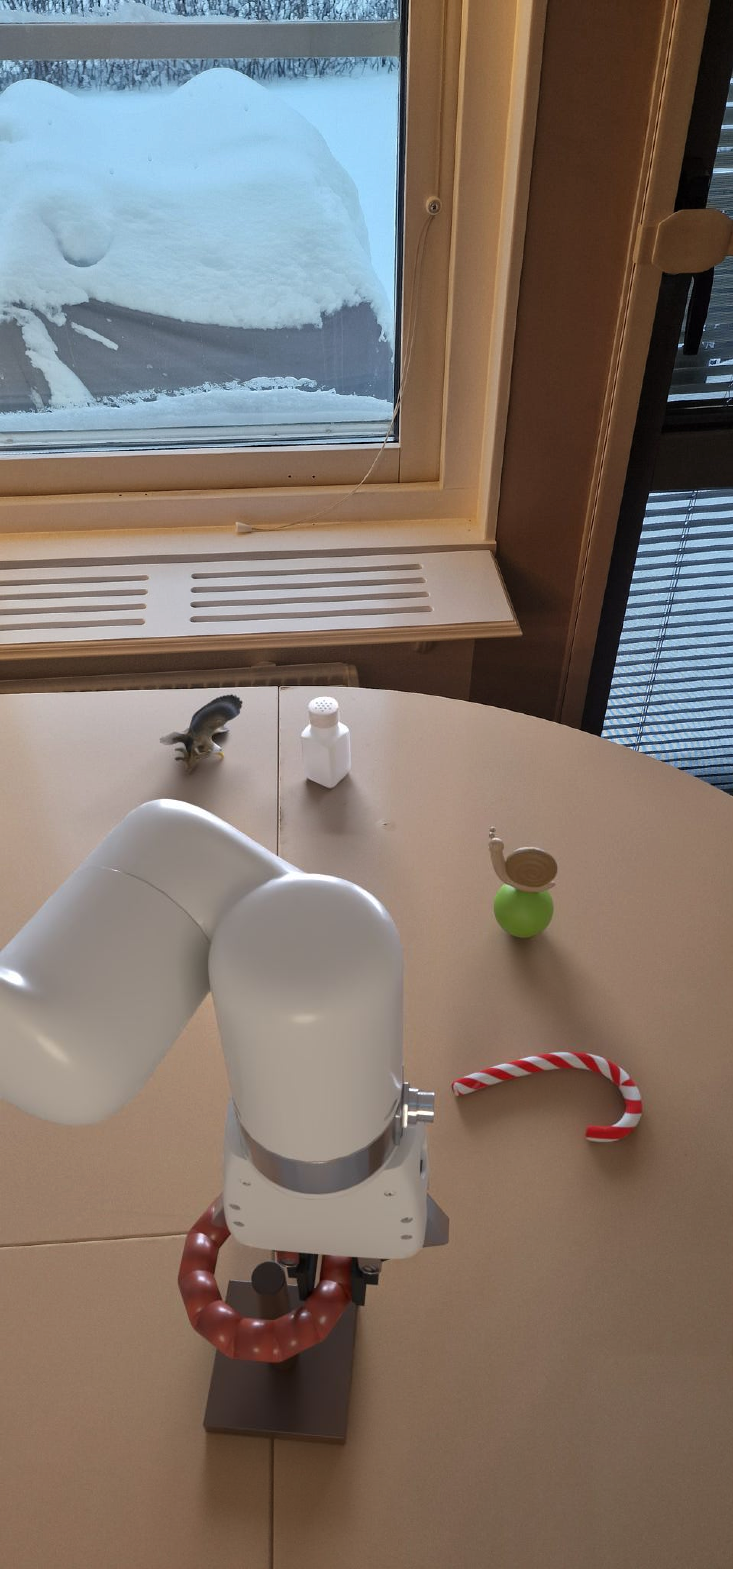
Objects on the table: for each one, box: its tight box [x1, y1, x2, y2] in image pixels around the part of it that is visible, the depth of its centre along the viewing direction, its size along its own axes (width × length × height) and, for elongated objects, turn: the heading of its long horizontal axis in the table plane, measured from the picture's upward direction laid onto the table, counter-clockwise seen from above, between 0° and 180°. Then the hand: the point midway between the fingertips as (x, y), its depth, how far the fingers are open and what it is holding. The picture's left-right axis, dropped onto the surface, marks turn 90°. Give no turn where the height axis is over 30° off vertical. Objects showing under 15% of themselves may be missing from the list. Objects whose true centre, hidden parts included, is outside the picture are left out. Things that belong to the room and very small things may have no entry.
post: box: [202, 1260, 359, 1446], centre depth 65 cm, size 9×9×14 cm
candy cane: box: [451, 1051, 643, 1143], centre depth 83 cm, size 8×1×15 cm
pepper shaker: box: [300, 696, 352, 789], centre depth 110 cm, size 4×4×10 cm
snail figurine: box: [487, 826, 559, 938], centre depth 93 cm, size 5×6×12 cm
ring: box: [177, 1196, 352, 1363], centre depth 59 cm, size 10×10×2 cm
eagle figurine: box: [159, 693, 244, 774], centre depth 114 cm, size 8×7×9 cm
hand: (335, 1275), depth 59 cm, fingers closed on ring, 2 cm apart
